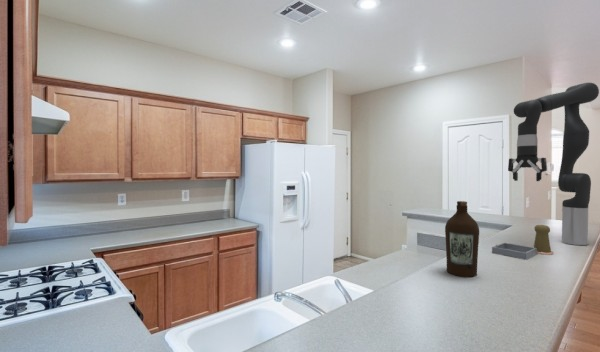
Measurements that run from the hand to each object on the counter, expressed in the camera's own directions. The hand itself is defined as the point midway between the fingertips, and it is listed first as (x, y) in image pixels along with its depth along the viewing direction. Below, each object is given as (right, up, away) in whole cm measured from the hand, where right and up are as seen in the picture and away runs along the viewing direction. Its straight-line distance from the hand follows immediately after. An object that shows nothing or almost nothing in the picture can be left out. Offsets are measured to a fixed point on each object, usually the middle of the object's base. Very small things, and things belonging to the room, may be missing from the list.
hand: (526, 180), depth 142 cm
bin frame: (-13, -31, -10) cm, 35 cm away
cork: (0, -30, -9) cm, 31 cm away
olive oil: (-47, -32, -33) cm, 65 cm away
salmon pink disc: (0, -30, -9) cm, 32 cm away
